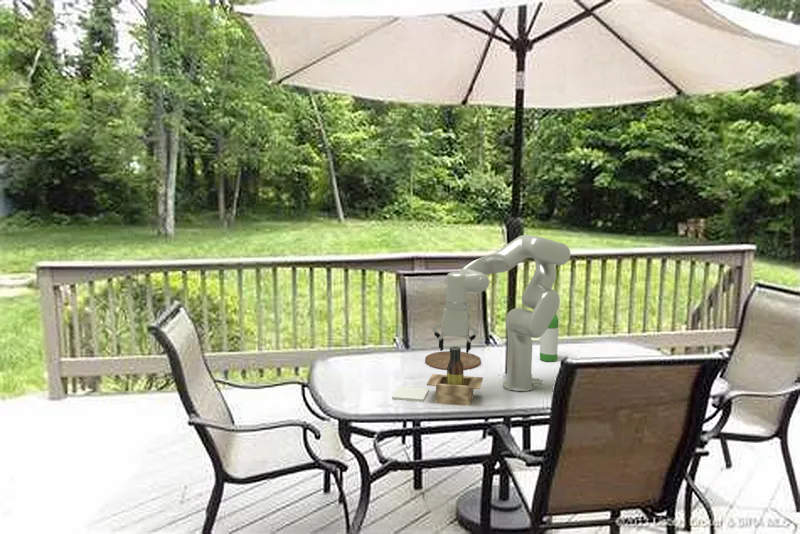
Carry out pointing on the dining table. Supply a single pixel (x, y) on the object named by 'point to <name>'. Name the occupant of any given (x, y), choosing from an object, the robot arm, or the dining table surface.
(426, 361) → the trivet
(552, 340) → the wine bottle
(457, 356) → the sauce bottle
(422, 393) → the mat
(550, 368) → the dining table surface
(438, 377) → the carton
